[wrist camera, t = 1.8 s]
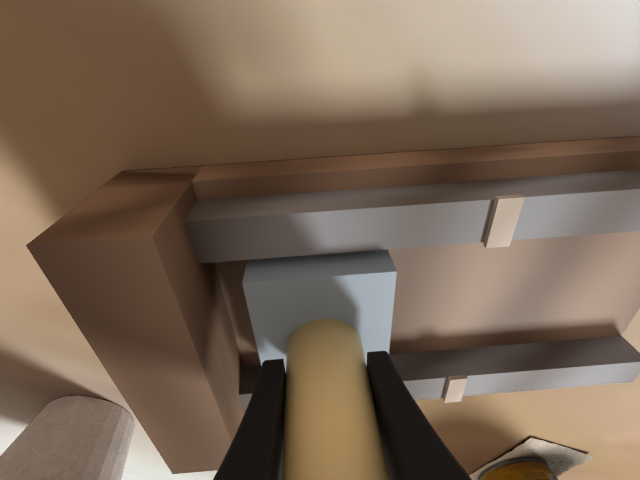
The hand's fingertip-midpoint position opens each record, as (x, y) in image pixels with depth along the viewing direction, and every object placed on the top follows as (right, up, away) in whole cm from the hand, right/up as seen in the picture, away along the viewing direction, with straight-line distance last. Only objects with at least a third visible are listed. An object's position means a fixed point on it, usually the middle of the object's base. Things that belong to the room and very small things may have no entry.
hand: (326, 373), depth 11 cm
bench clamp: (+4, +3, +4) cm, 6 cm away
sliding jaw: (0, +2, +3) cm, 3 cm away
